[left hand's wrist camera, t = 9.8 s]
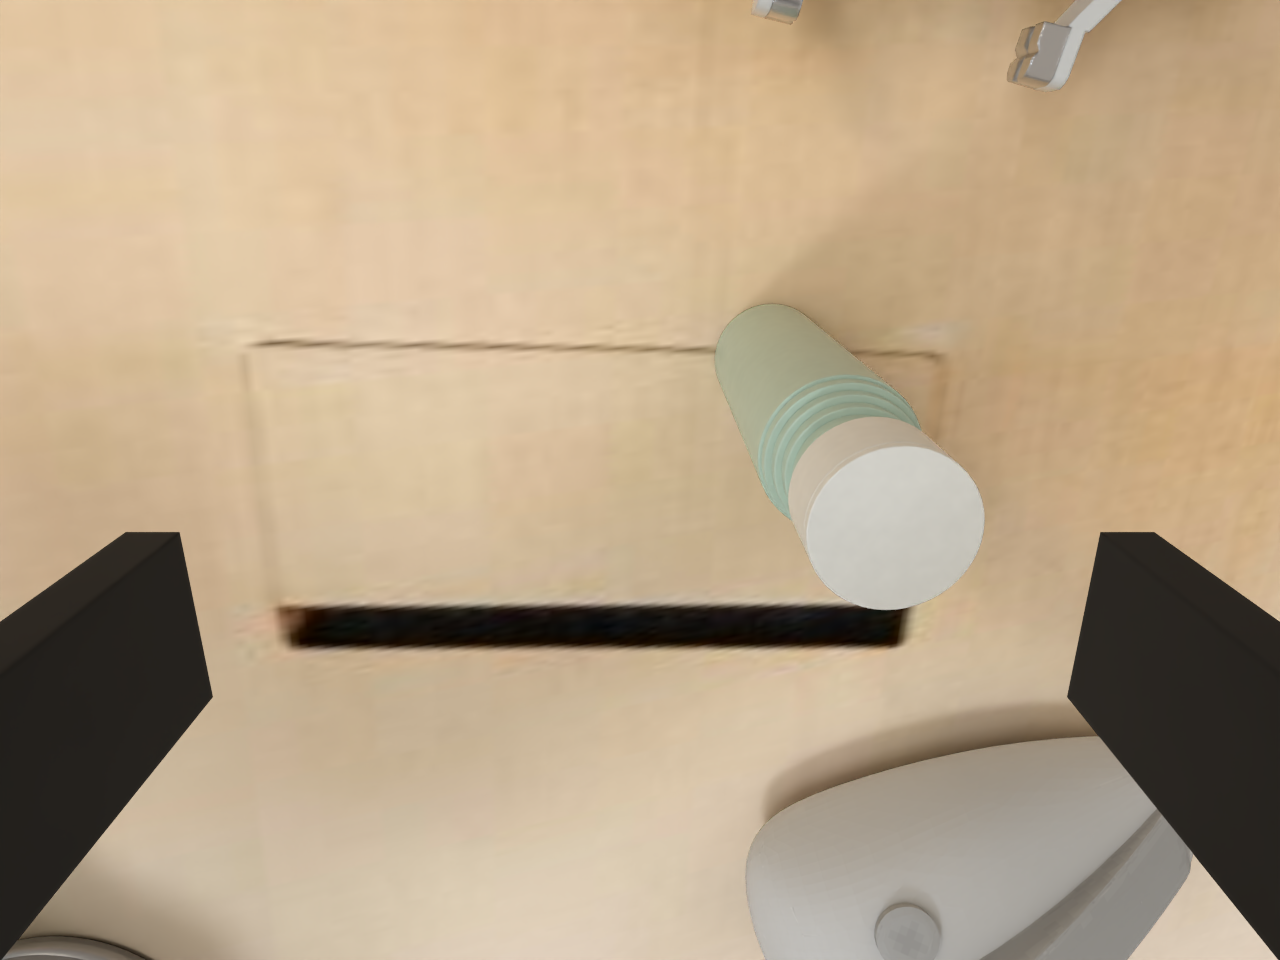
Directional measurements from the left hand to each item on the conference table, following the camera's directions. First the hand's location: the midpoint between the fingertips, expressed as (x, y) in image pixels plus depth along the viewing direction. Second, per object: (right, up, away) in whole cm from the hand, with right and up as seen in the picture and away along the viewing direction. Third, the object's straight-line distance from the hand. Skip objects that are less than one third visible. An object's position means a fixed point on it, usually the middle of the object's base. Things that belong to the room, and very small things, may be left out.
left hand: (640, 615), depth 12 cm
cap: (+6, +1, +8) cm, 10 cm away
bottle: (+6, +8, +27) cm, 29 cm away
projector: (+18, -18, +36) cm, 44 cm away
